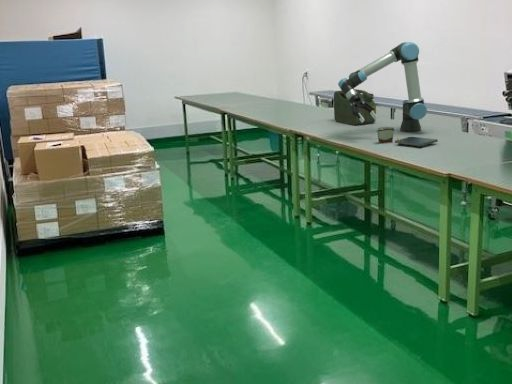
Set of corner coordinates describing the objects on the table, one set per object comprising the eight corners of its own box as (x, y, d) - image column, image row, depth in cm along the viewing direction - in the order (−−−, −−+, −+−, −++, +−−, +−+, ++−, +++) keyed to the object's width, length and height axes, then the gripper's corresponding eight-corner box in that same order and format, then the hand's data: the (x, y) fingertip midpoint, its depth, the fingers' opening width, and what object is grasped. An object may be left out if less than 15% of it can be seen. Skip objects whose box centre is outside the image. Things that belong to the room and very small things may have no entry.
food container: (390, 140, 366) (390, 126, 363) (394, 142, 360) (394, 127, 357) (373, 142, 364) (373, 127, 361) (377, 144, 358) (377, 129, 356)
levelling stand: (411, 140, 361) (411, 135, 360) (437, 144, 346) (437, 137, 345) (394, 145, 351) (394, 139, 350) (420, 148, 335) (420, 142, 334)
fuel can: (356, 126, 436) (356, 92, 429) (334, 121, 468) (333, 90, 460) (376, 123, 443) (376, 90, 436) (352, 119, 475) (352, 88, 467)
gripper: (362, 99, 385) (378, 121, 377) (338, 102, 370) (354, 126, 363) (368, 91, 379) (384, 114, 372) (343, 95, 365) (360, 118, 357)
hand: (369, 120), depth 367 cm, fingers open, 13 cm apart
